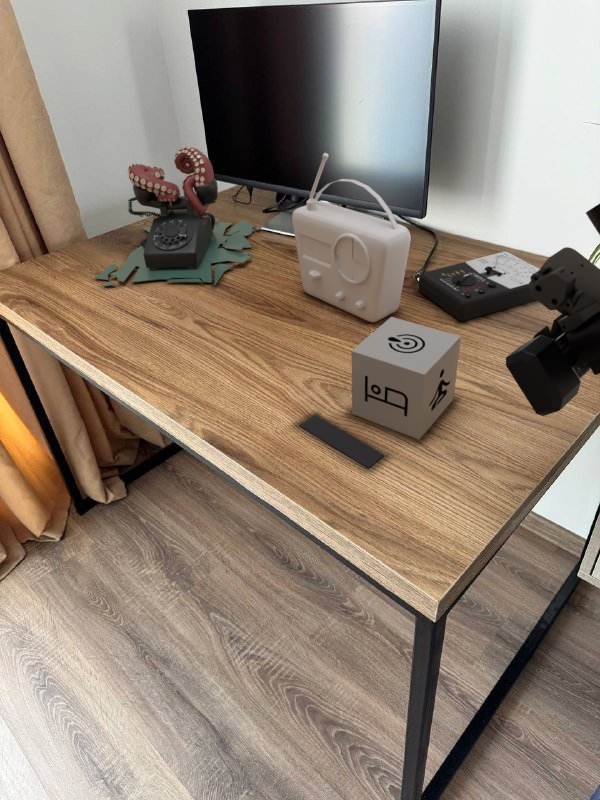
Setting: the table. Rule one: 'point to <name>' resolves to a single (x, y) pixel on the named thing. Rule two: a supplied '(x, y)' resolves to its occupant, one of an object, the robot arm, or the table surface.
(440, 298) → the multimeter
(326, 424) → the felt mark
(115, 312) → the table surface
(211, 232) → the telephone
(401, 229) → the radio
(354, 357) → the icon cube
